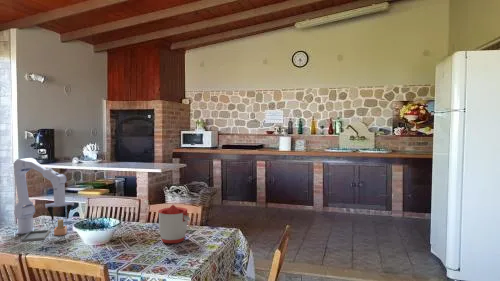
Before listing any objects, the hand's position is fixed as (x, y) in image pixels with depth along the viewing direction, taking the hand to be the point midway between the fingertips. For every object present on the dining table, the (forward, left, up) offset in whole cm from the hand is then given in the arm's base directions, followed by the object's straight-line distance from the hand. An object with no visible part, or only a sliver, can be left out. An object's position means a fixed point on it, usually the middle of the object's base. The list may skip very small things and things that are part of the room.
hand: (60, 218), depth 209 cm
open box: (-1, 0, -10) cm, 10 cm away
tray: (+1, -12, -10) cm, 15 cm away
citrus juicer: (+31, +62, -10) cm, 70 cm away
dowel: (-1, 0, -9) cm, 9 cm away
